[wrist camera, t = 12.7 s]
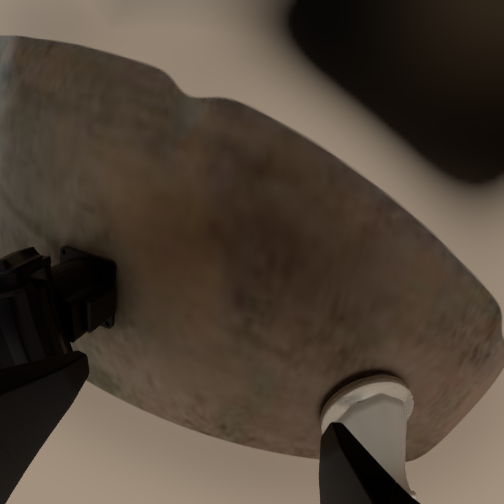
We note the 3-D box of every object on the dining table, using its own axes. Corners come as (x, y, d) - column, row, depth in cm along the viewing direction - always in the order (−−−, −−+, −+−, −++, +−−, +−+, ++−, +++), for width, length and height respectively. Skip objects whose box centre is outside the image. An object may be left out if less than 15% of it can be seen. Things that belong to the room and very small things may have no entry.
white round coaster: (306, 429, 23) (307, 447, 21) (339, 363, 21) (345, 380, 19) (380, 433, 23) (385, 448, 21) (419, 371, 21) (429, 386, 19)
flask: (356, 452, 21) (372, 528, 11) (316, 425, 20) (326, 519, 11) (416, 413, 19) (452, 487, 10) (384, 379, 19) (427, 470, 9)
